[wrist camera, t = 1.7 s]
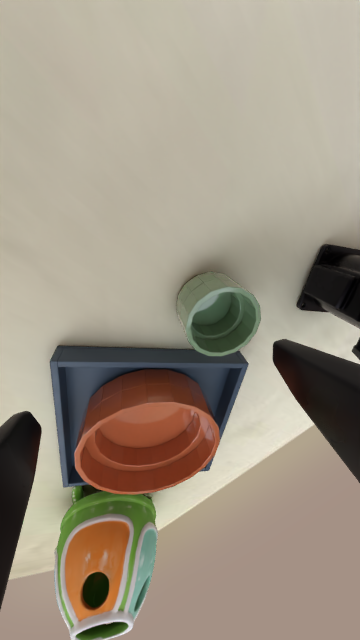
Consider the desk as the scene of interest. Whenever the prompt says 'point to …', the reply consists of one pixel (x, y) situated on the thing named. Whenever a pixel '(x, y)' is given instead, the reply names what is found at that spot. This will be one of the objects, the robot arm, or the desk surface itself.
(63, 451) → the tray
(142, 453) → the terracotta bowl
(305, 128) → the desk surface
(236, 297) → the sage bowl
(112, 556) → the turtle holder
